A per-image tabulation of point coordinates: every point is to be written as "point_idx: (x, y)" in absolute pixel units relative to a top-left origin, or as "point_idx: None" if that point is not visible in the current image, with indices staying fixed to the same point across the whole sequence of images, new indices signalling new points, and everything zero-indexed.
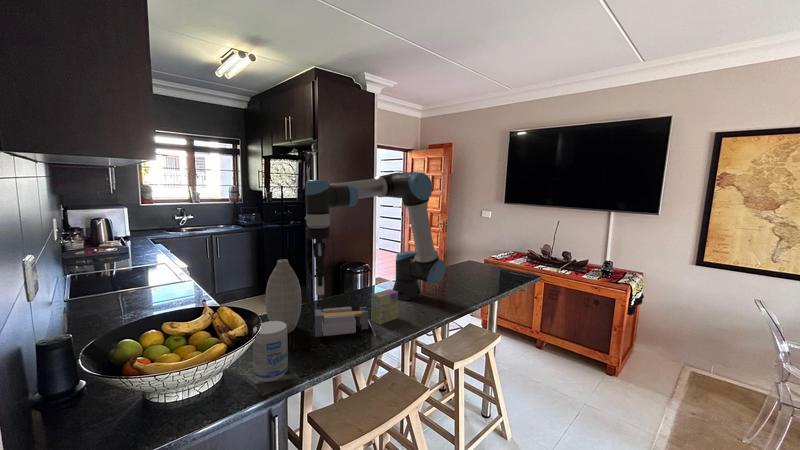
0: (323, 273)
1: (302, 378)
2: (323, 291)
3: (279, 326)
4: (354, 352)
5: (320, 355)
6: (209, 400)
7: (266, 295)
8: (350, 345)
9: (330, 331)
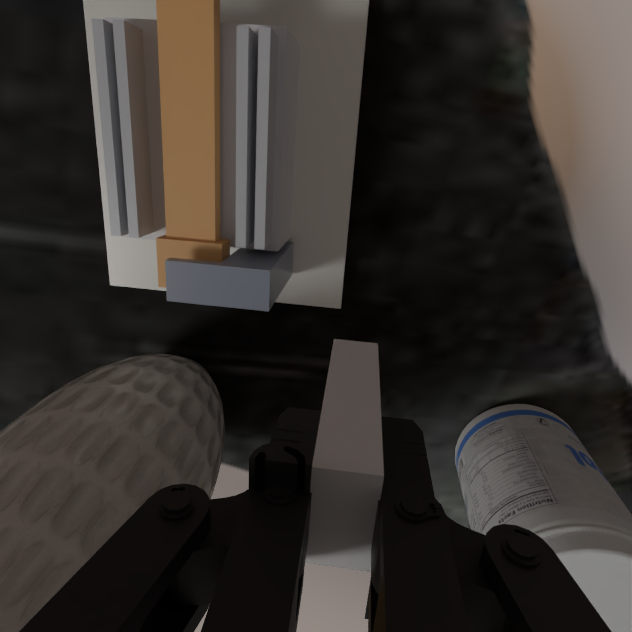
0: (578, 589)
1: (600, 356)
2: (376, 365)
3: (605, 583)
4: (490, 98)
5: (449, 268)
6: None
7: None
8: (407, 104)
9: (288, 201)
